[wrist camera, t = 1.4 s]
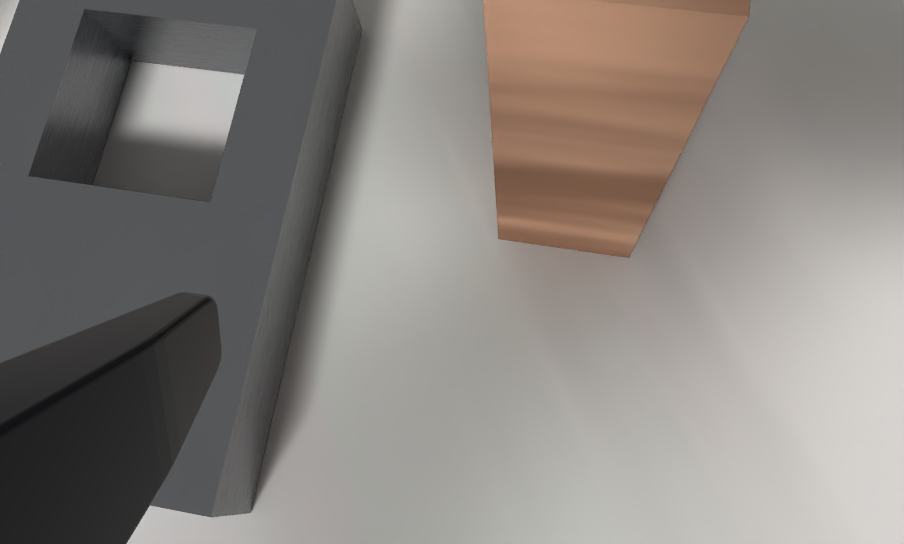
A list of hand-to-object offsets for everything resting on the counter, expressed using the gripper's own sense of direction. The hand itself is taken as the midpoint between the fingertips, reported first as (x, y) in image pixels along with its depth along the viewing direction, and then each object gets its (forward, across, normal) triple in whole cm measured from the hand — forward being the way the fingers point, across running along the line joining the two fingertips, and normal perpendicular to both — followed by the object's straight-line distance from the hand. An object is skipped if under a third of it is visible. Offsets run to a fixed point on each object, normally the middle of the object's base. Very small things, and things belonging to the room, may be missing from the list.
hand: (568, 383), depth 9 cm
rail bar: (+13, +13, +6) cm, 19 cm away
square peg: (+15, 0, +4) cm, 16 cm away
